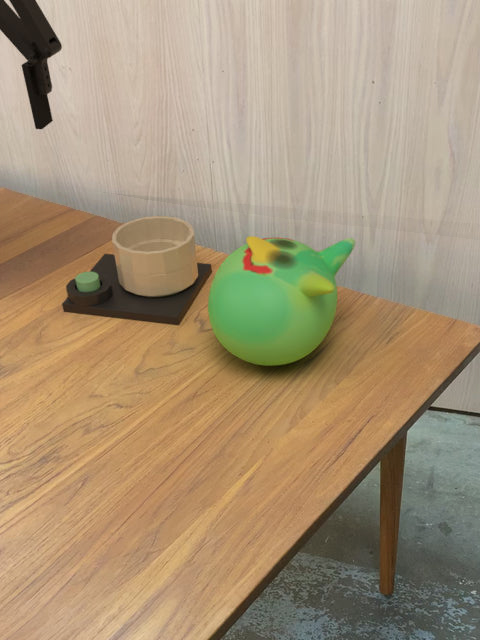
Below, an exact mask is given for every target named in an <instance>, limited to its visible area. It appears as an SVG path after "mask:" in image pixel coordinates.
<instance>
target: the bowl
mask: <svg viewBox="0 0 480 640" xmlns="http://www.w3.org/2000/svg"><path fill="white" fill-rule="evenodd" d="M194 230H195V229H194V226H192V225H191V224H190V223H189V222H188V221H186V220H184V219H181V218H178V217H176V216H175V217H174V216H166V215H165V216H164V215H153V216H144V217H140V218H136V219H132V220H129V221H127V222H126V223H123V224H121V225H120V226H118V227H117V228H116V229H115V230H114V232H113V233H112V234H111V243H112V248H113V254H114V255H115V261H116V267H117V273H118V278H119V283H120V284H121V286H122V287H123V288H124V289H125V290H126V291H129V292H132V293H134V294H137V295H141V296H146V297H163V296H168V295H172V294H176V293H178V292H180V291H182V290H184V289H186V288H187V287H189V286H190V285H192V284H193V283H194V282H195V280H196V279H197V277H198V268H197V263H198V258H197V247H196V239H195V238H196V237H195V231H194Z"/></svg>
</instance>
